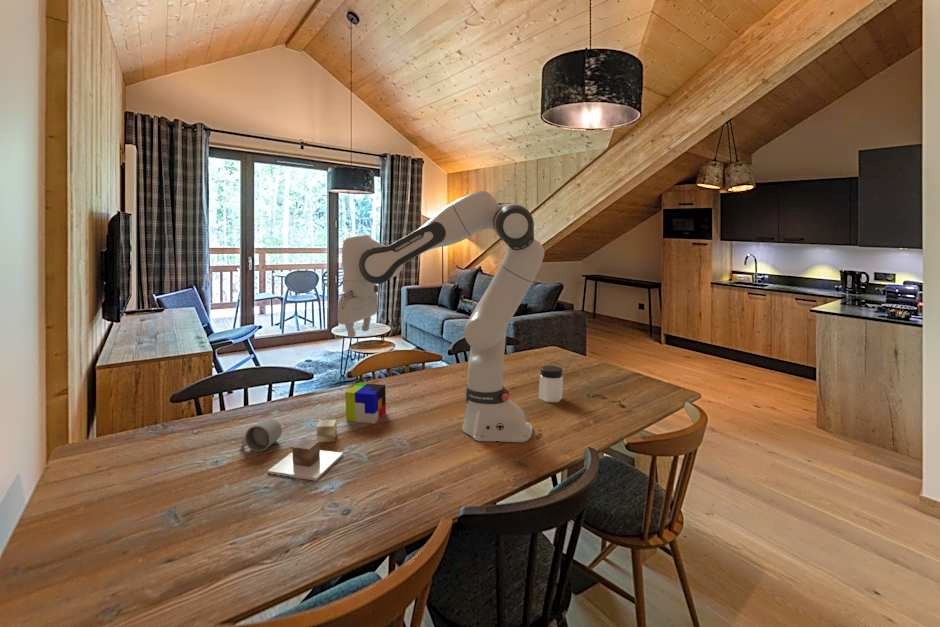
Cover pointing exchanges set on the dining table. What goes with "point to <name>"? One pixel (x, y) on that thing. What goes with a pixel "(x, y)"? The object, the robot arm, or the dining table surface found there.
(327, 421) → the maple block
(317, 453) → the walnut block
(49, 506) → the dining table surface
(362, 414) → the puzzle toy
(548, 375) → the jar
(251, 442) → the ceramic mug
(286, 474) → the white coaster
